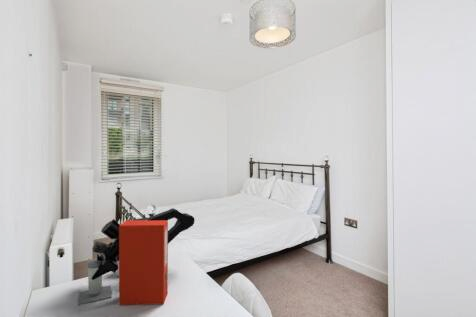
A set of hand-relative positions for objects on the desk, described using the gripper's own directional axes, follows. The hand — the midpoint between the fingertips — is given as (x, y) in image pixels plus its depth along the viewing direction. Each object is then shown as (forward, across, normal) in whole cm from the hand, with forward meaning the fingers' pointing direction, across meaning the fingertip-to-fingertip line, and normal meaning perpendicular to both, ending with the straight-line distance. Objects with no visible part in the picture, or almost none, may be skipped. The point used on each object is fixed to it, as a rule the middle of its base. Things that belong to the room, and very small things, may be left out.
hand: (91, 276), depth 107 cm
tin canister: (+4, 0, +6) cm, 7 cm away
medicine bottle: (-6, -13, +18) cm, 23 cm away
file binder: (-6, +15, +19) cm, 25 cm away
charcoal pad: (+5, 0, +7) cm, 9 cm away
